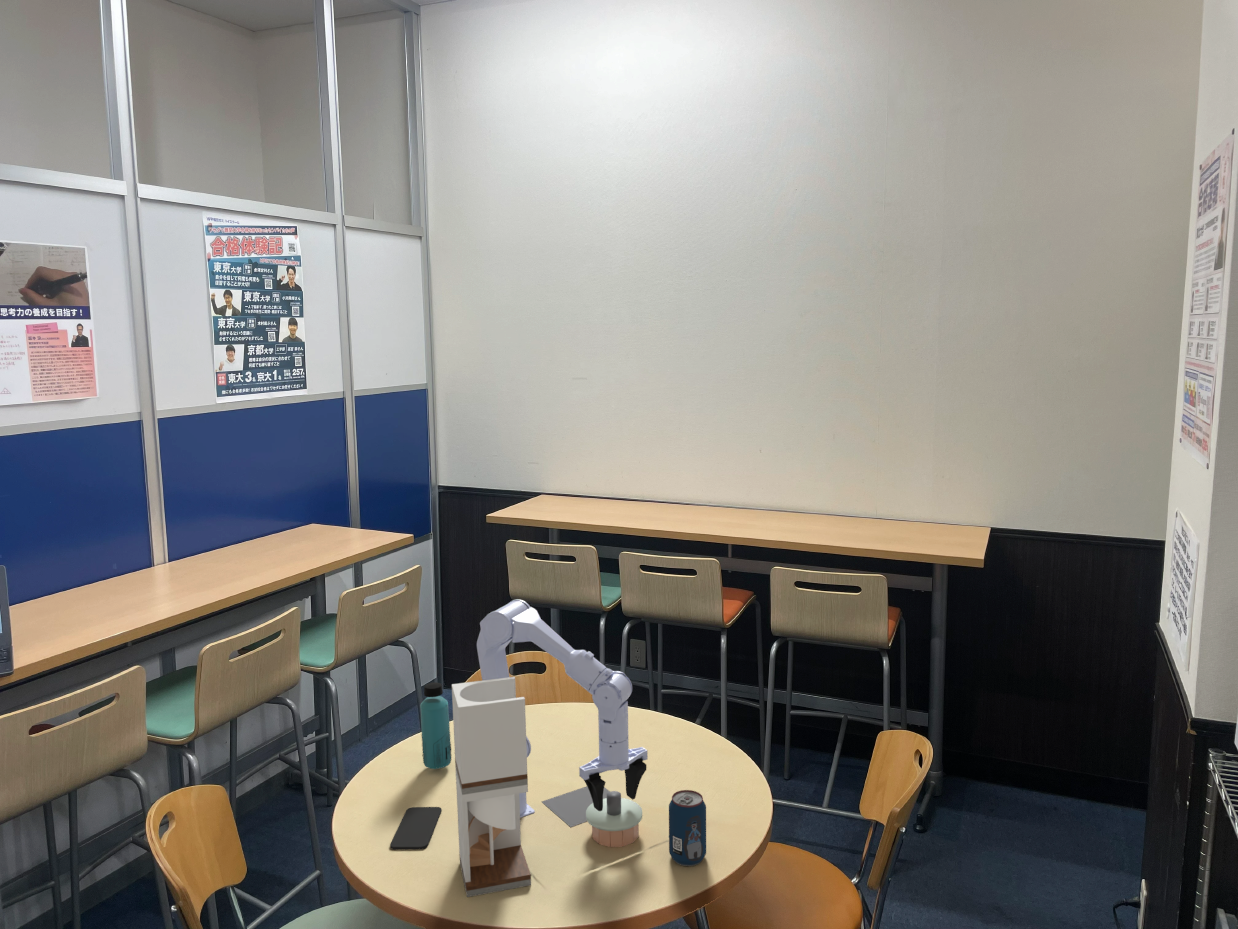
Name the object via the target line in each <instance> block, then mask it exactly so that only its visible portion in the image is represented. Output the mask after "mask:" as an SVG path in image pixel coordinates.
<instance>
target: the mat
mask: <svg viewBox="0 0 1238 929" xmlns="http://www.w3.org/2000/svg"><path fill="white" fill-rule="evenodd" d="M610 791H611V790H609V789H607V788H606V787H605V786H604V791H603V799H605V798H607V793H608V792H610ZM541 803H542V804H543V805H544V806H545V807H547V809H548V810H550V811H551V812H552V813H554V814H555V815H556V816H557V817H558V818H559V819H560V820H561V821H562V822H564V823H565V824H566V825H567V826H568V827H569V828H574V827H576V826H579V825H581V824H584V823H586V822H587V823H588V821H587V819H586V810H587V808H588V807H589V806H590V805H591V804H592V803H593V801H592V797H591V794H590V792H589V789H588V787H587V785H586V786H584V787H580V788H577V789H575V790H572V791H569V792H566V793H563V794H560V795H557V796H554V797H551V798H549V799H548V798H547V799H545V800H543V801H541Z"/></svg>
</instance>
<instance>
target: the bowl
mask: <svg viewBox="0 0 1238 929" xmlns="http://www.w3.org/2000/svg"><path fill="white" fill-rule="evenodd" d="M639 824H640V822H639V823H638V824H637V825H636V826H634V827H632V828H630V829H626V830H622V831H605V830H600V829H597V828H595V827H593V826H592V825H591V834H592V835H591V836H592V839H593V840H594V841H595V842H596V843H597V844H598V845H601V846H605V847H608V848H621V847H626V846H628V845H631V844H632V843H633V844H634V842H635V841H636V840H637V839H638V837H639V836H640V833H639V831H640V830H639V828H640V827H639Z"/></svg>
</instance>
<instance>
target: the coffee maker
mask: <svg viewBox="0 0 1238 929" xmlns="http://www.w3.org/2000/svg"><path fill="white" fill-rule="evenodd" d="M516 689H517V688H516V677H515V676H509V677H508V678H499V679H491V680H483V681H482V680H475V681H467V682H459V683H452V684H451V698H452V699H451V700H452V719H453V720H452V721H453V737H454V738H453V741H454V742H453V743H454V764H455V765H454V766H455V780H456V781H455V785H456V787H455V789H456V805H457V806H456V807H457V808H456V809H457V826H458V827H457V830H458V831H457V833H458V852H459V854H458V855H459V866H460V871H461V875H462V880H463V886H464V890H465V893H466V897H467V898H470V897H474V896H476V897H477V896H480V895H487V894H490V893H496V892H497V893H498V892H501V891H502V892H503V891H507V890H512V889H518V888H523V887H528V886H531V885H532V873H531V871H530V868H529V865H528V863H527V859H526V856H525V852H524V850H523V846H522V843H521V842H522V840H521V839H522V836H521V835H522V834H521V818H520V802H519V793H525V792H526V793H528V792H529V788H528V786H529V783H528V780H529V779H528V757H527V746H526V736H527V721H526V720H527V718H526V698H525V696H520V697H517V694H516V693H517V692H516V691H517V690H516Z"/></svg>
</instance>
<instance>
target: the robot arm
mask: <svg viewBox="0 0 1238 929" xmlns="http://www.w3.org/2000/svg"><path fill="white" fill-rule="evenodd" d="M479 625H480V631H479V634H478V637H477V641H476V650H477V657H478V662H479V668H480V675H481V679H482V680H481V681H483V680H491V679H499V678H508V677H510V674H509V673H510V671H509V665H508V660H507V653H506V647H507V646H508V645H509V644H510V642H512V643H513V644H514V643H525V642H532V643H533V644H534V645H536V646H538V647H539V648H540V649H542V651H545V652H546V653H547V654H549V656H552V657H553V658H554V659H556V660H557V661H559V662H560V663H561V664H563V667H564V671H565V674H566V675H567V676H568V677H569V678H571V679H572V680H573V681H574V682H576V683H577V684H578V685H580V686H581V687H582V688H583V689H584V690H586V691H587V692H588V693H589V694H590V695H592V696H591V698H592V701H593V704H594V705H595V706H596V708H597V711H598V714H597V717H598V756H597V757H595V758H594V759H592V760H590V761H589V762H587V763H585V764H583V765H581V766H579V767H578V768H579V769H578V770H579V772H578V774H579V777H580V778H581V779H582V780H583V782H584V783H585V785H586V786H587V787H588V789H589V792H590V794H591V797H592V801H593V805H594V808H595V809H597V810H598V811H602V810H603V791H604V787H605V786H606V781H605V780H604V779H602V776H601V775H600V774H602V773H605V772H608V771H615V770H618V771H624V775H625V776H624V777H625V794H626V796H627V797H628V798H629V799H630V800H632V801H634V800H635V799H636V796H637V792H638V789H639V788H638V787H639V785H640V782H641V780H642V778H643V775H644V774H645V773H646V771H647V768H648V767H647V763H645V762H644V761H646V760H648V749H646V748H645V747H644V746H640V747H636V748H635V747H634V748H629V704H628V703H629V702H628V700H629V697H630V696H631V695H632V692H633V684H632V681H631V680H630V678H629V677H628V676H627V675H626V673H625V672H622V671H619V670H612V669H611V668H608V667H606V665H604V664H603V663H601V662H600V660H598V659H597V658H596V657H594V656H595V654H594V653H592V652H591V651H589V650H588V651H587V650H586V649H575V648H573V647H572V645H570V644H569V643H568V642H567V641H566V640H565V639H563V638H562V637H561V635H559V634H558V633H557V632H556V631H555V630H553V628H551V626H549V625H548V624H547V623H546V622H545V621H544V620H543V619H541V616H540V614H539V612H538V610H537V609H536V608H534V607H532V606H530V604H529V603H527V601H526V600H523V599H518V598H517V599H513V600H511V601H510V602H508V603H507V604H505V605H503V606H501V607H499V608H498V609H496V610H493V611H491V612H490V613H487V614H486V616H484V618H483V619H481V621H480V622H479ZM526 746H527V758H529V756H530V754H531V753H532V752H531V751H532V745H531V741H530V740H529V738H528V736H527V735H526ZM527 801H528V800H527V792H525V793H519V802H520V819H522V818H523V817H526V816H529V815H533V814H534V813H535V812H536V811H535V809H534V808H532V806H531V805H529V804H528V803H527Z"/></svg>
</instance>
